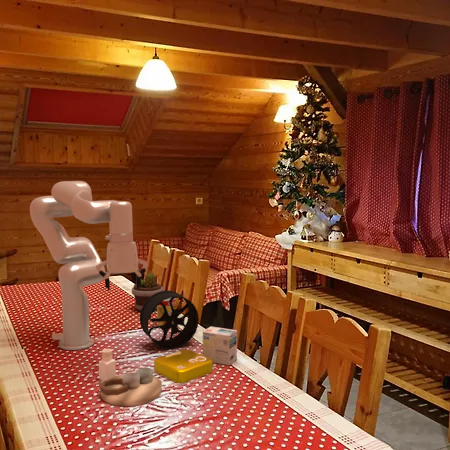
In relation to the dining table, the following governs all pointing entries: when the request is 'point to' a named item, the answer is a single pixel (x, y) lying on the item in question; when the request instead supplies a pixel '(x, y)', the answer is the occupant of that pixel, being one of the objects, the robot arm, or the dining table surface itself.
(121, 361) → the dining table surface
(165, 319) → the car wheel rim
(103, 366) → the salt shaker
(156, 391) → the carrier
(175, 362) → the element tile
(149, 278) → the flowerpot
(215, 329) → the light bulb box
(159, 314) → the canned food
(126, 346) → the dining table surface
